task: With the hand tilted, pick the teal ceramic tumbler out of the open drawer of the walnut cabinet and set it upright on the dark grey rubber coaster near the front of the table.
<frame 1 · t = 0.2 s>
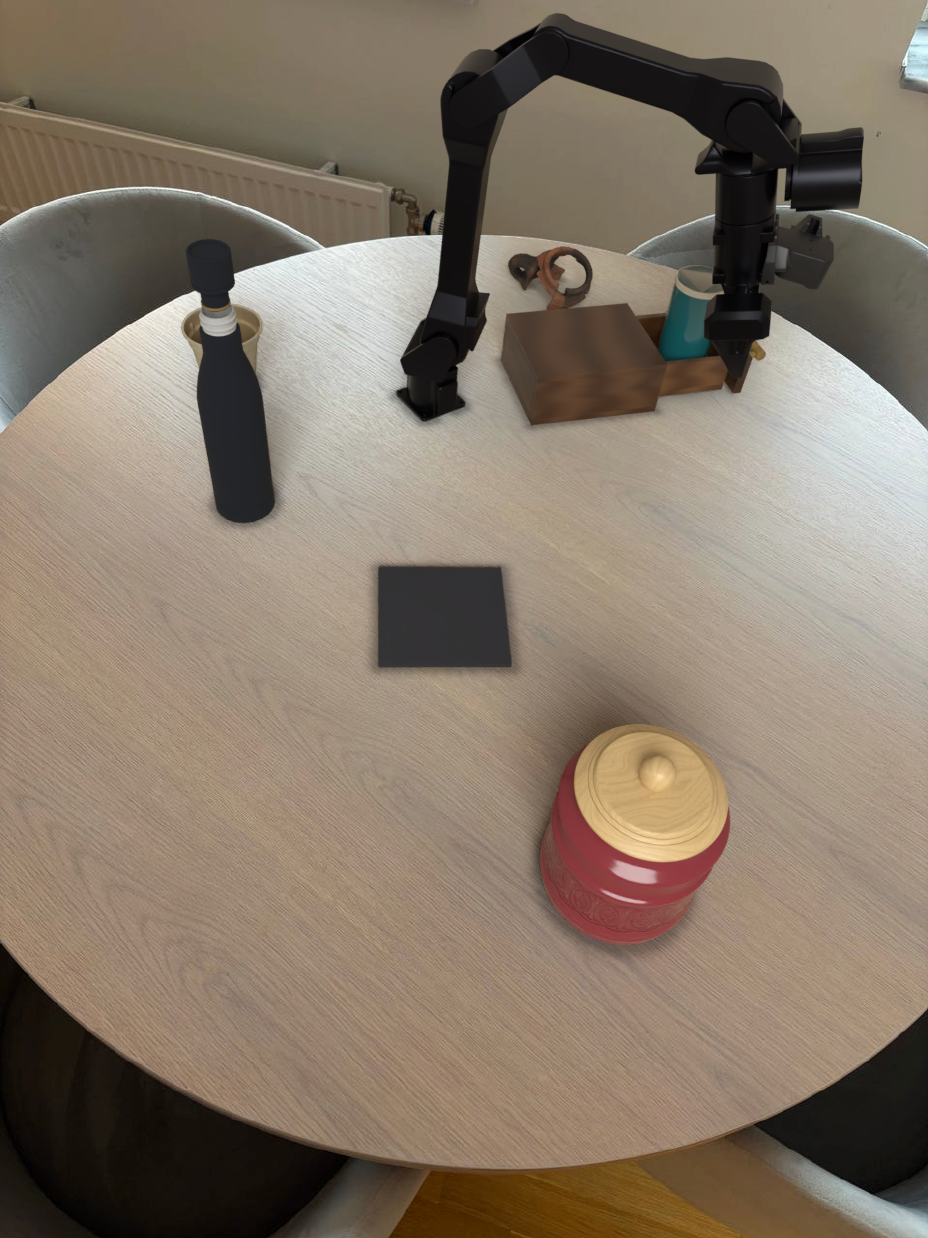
hand: (739, 352, 104), 15 cm above the table, tool pointing down, fingers open, 9 cm apart
black water bottle: (245, 504, 105), on the table
cabinet: (576, 385, 123), on the table
flower pot: (230, 386, 118), on the table
coaster: (442, 616, 97), on the table
kitchen canister: (613, 874, 80), on the table
tumbler: (678, 362, 125), point 2 cm above the table, touching drawer
drawer: (687, 351, 124), point 4 cm above the table, slide at 11.0 cm, touching tumbler
brown ring sculpture: (546, 297, 137), on the table
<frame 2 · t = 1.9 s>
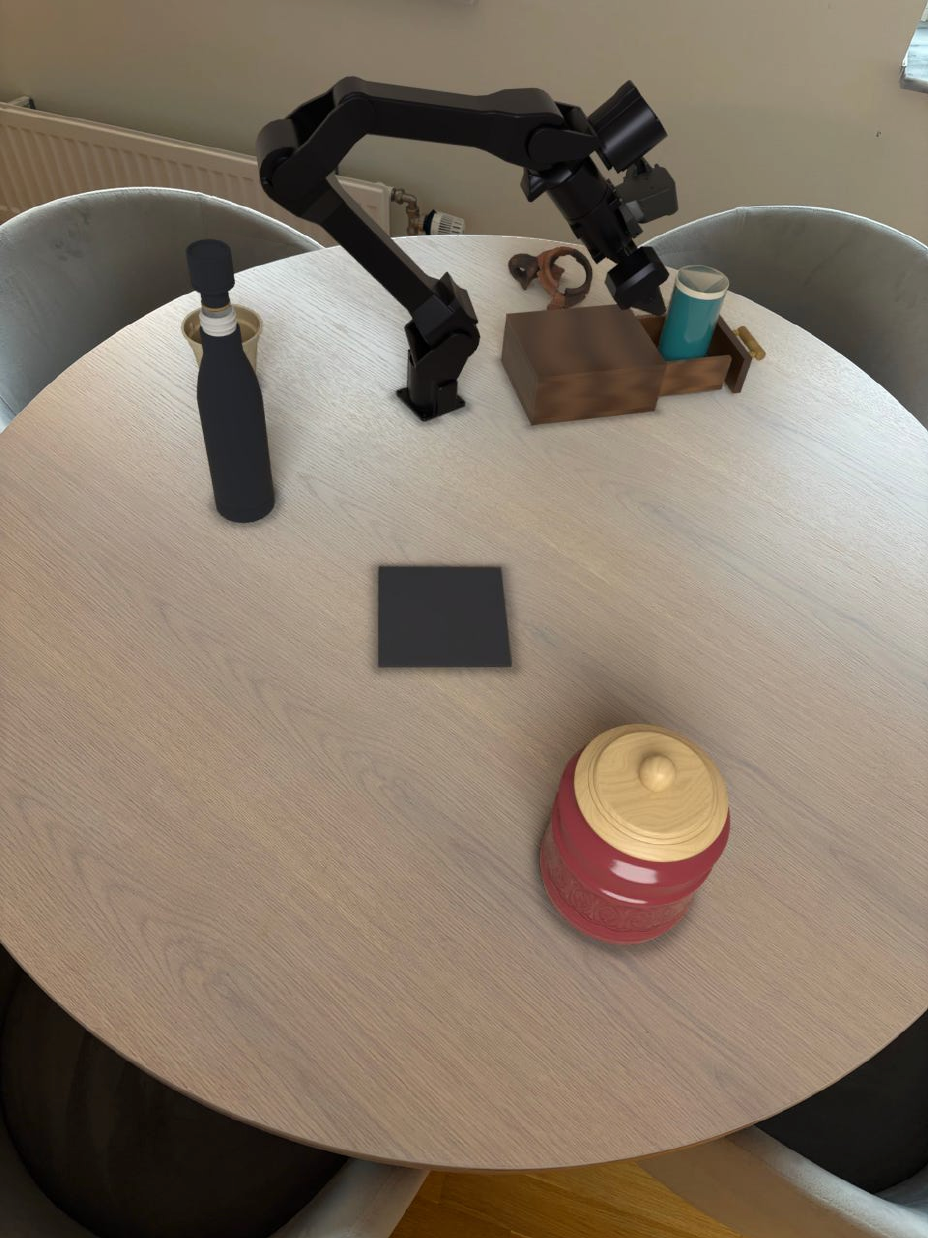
hand: (650, 291, 113), 14 cm above the table, tool tilted 40°, fingers open, 9 cm apart
nothing on the table moved.
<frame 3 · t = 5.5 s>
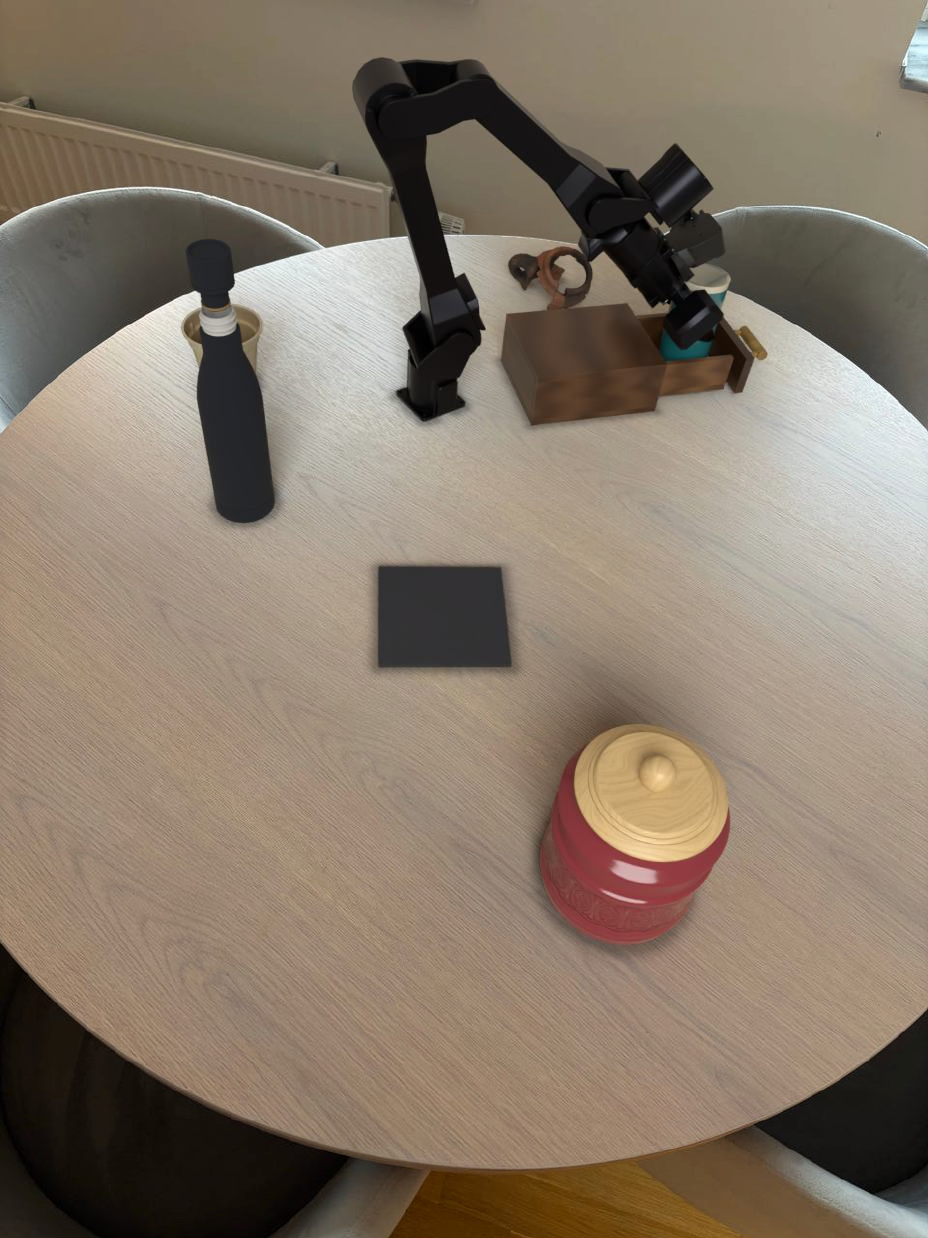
hand: (700, 323, 121), 8 cm above the table, tool tilted 45°, fingers closed on tumbler, 6 cm apart
tumbler: (680, 361, 125), point 2 cm above the table, touching drawer, gripper
everything else where it was.
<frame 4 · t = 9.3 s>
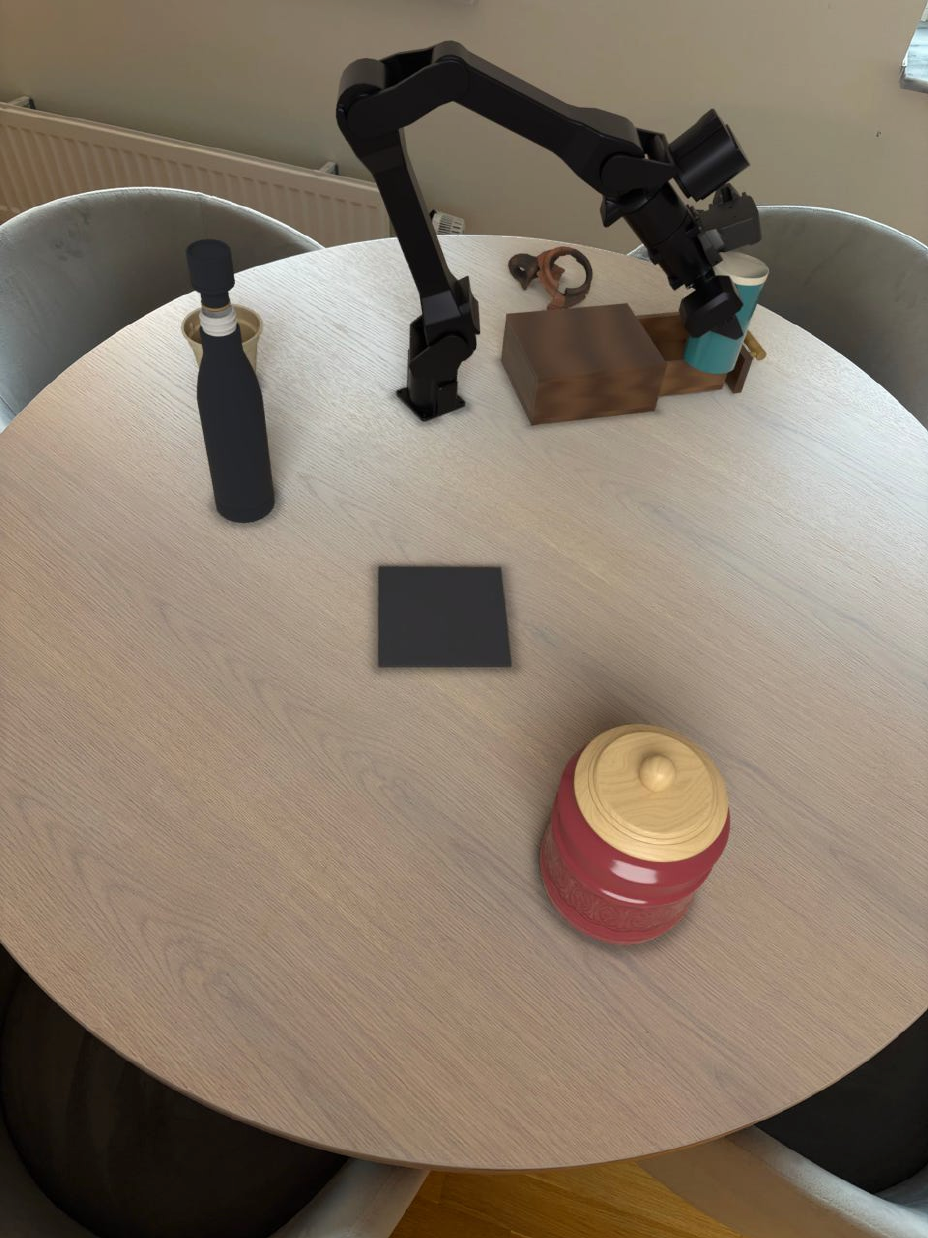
hand: (733, 320, 111), 13 cm above the table, tool tilted 45°, fingers closed on tumbler, 6 cm apart
tumbler: (708, 359, 115), point 8 cm above the table, touching gripper
drawer: (687, 351, 124), point 4 cm above the table, slide at 11.1 cm
everything else where it was.
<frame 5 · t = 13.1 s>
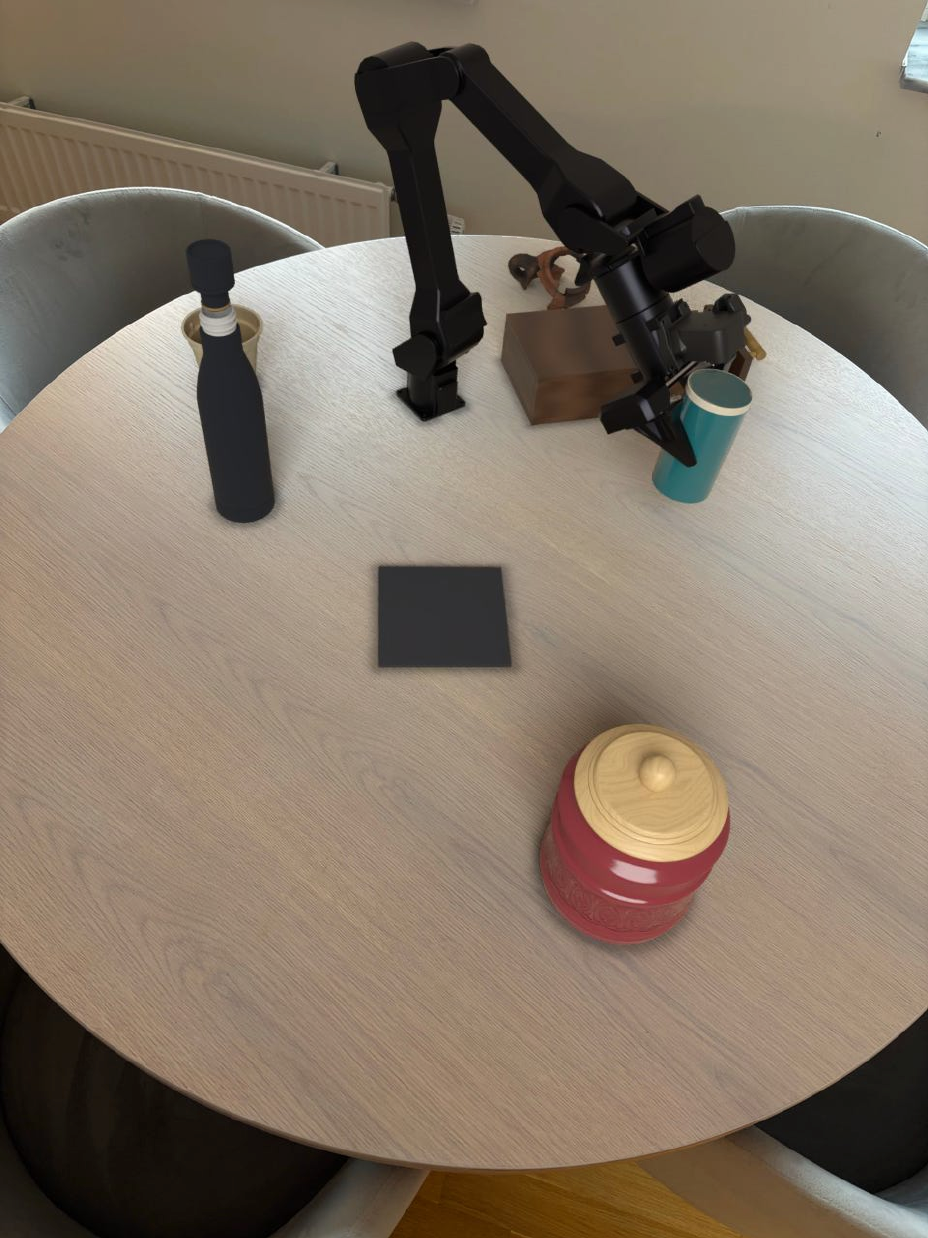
hand: (709, 449, 96), 13 cm above the table, tool tilted 45°, fingers closed on tumbler, 6 cm apart
tumbler: (680, 483, 100), point 8 cm above the table, touching gripper
everything else where it was.
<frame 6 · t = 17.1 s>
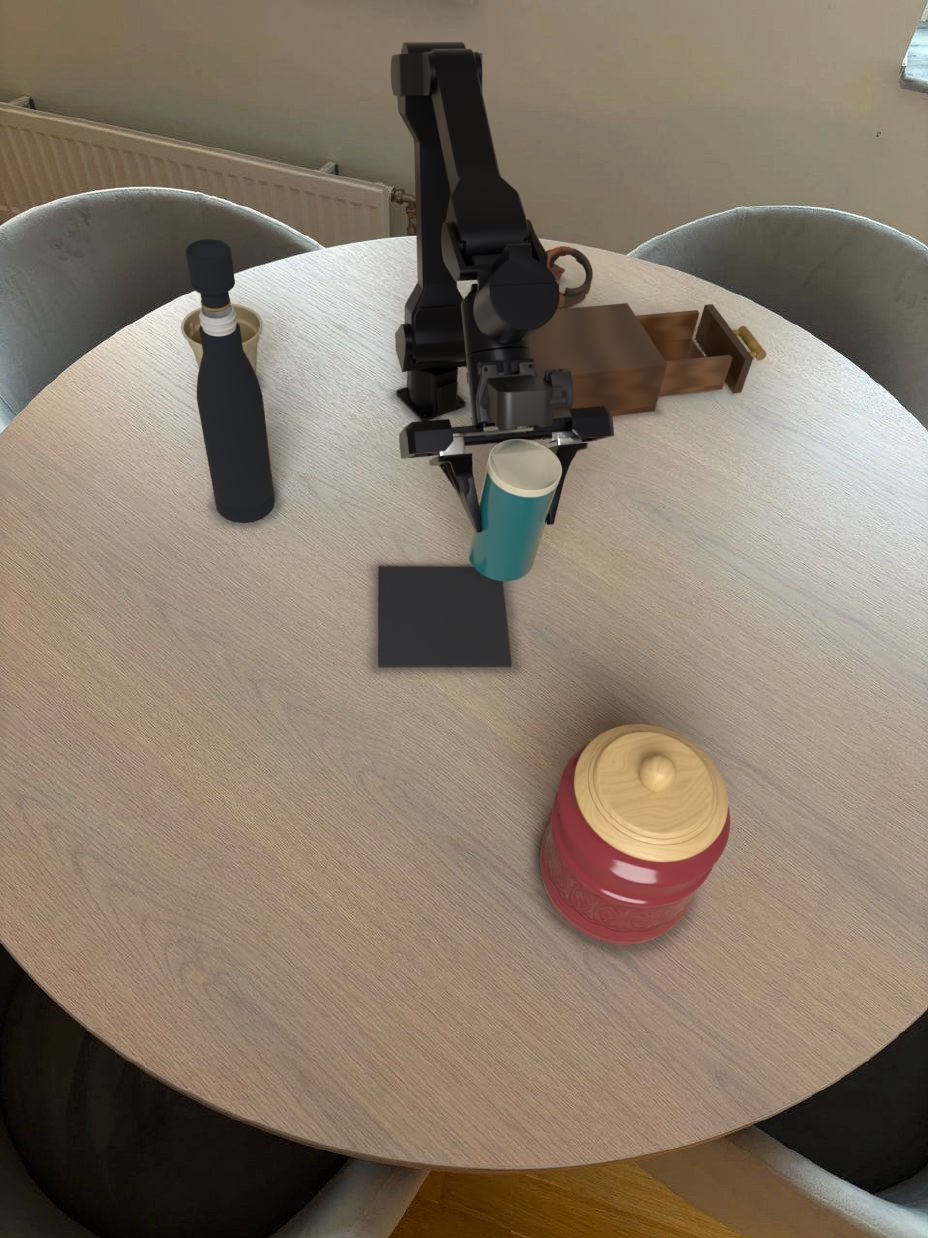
hand: (514, 528, 86), 13 cm above the table, tool tilted 45°, fingers closed on tumbler, 6 cm apart
tumbler: (500, 556, 91), point 8 cm above the table, touching gripper
everything else where it was.
when the fingers open (6 cm above the table, at t = 20.9 s): tumbler stays where it is, resting on coaster.
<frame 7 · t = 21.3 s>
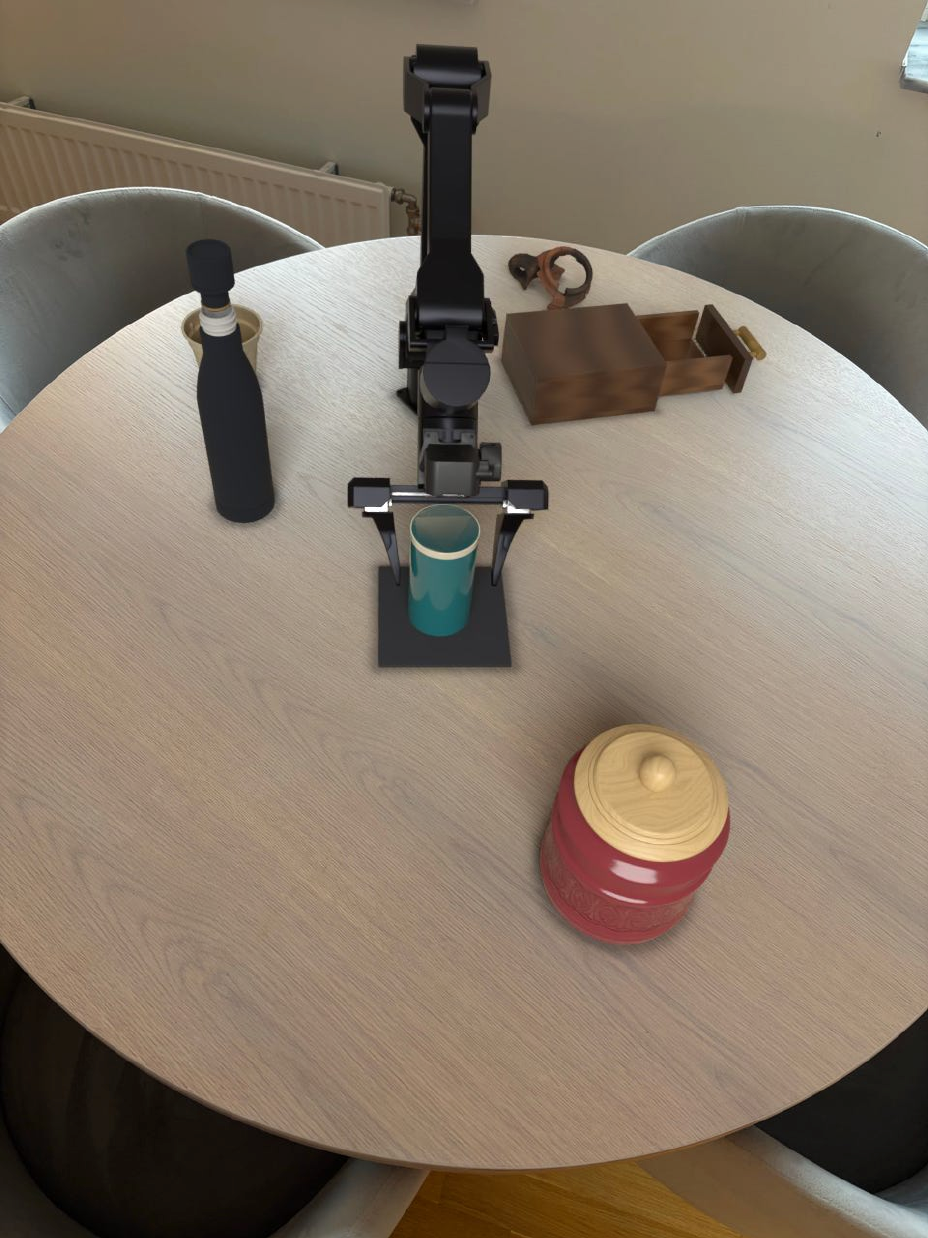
hand: (446, 585, 91), 6 cm above the table, tool tilted 45°, fingers open, 9 cm apart
tumbler: (438, 612, 96), resting on coaster
everything else where it was.
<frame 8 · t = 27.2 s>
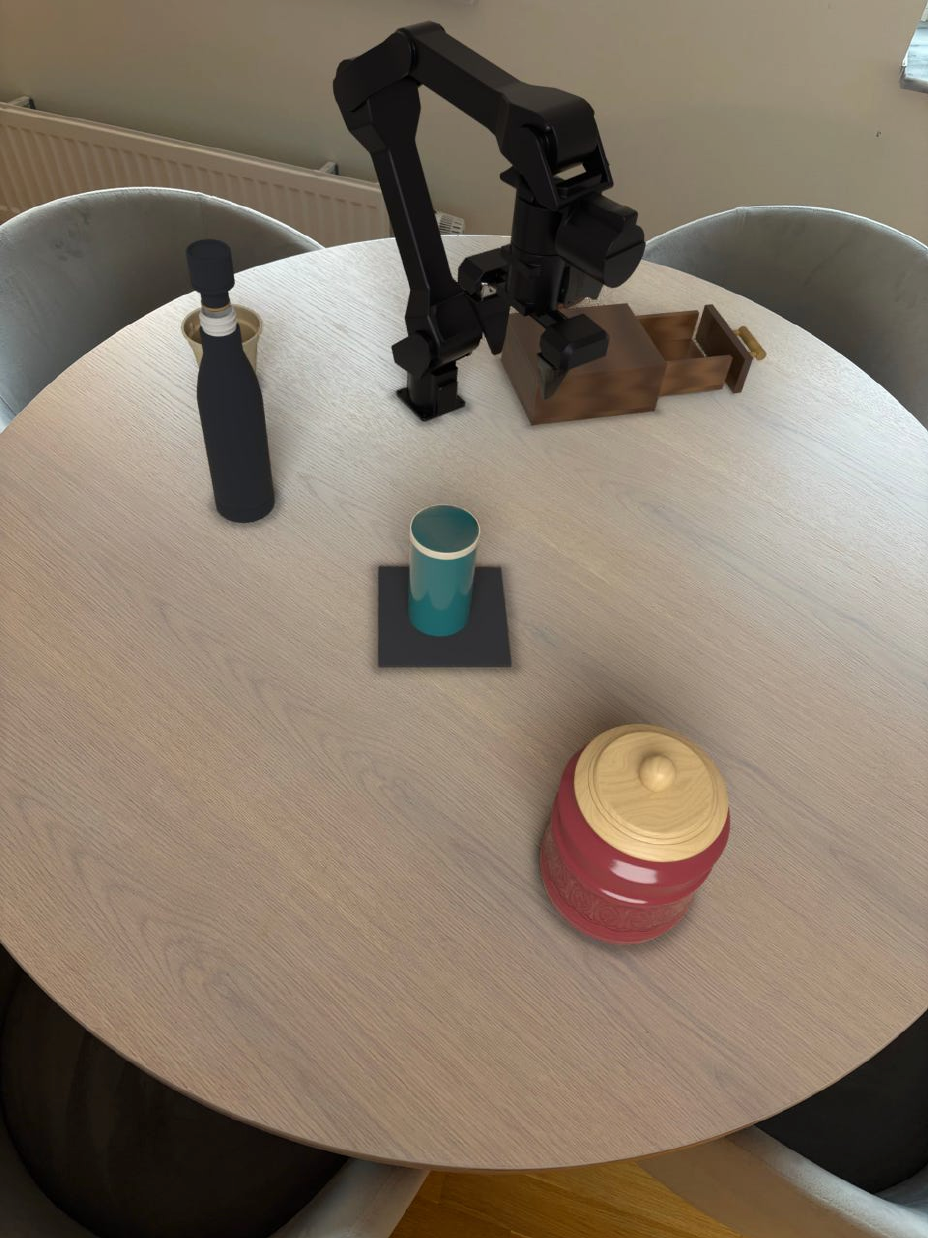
hand: (521, 375, 104), 12 cm above the table, tool pointing down, fingers open, 9 cm apart
nothing on the table moved.
at the end: tumbler inside the target area on the coaster (0.4 cm from its centre), point 0.4 cm above the coaster's base; tumbler tilted 0°; the gripper is holding nothing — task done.
